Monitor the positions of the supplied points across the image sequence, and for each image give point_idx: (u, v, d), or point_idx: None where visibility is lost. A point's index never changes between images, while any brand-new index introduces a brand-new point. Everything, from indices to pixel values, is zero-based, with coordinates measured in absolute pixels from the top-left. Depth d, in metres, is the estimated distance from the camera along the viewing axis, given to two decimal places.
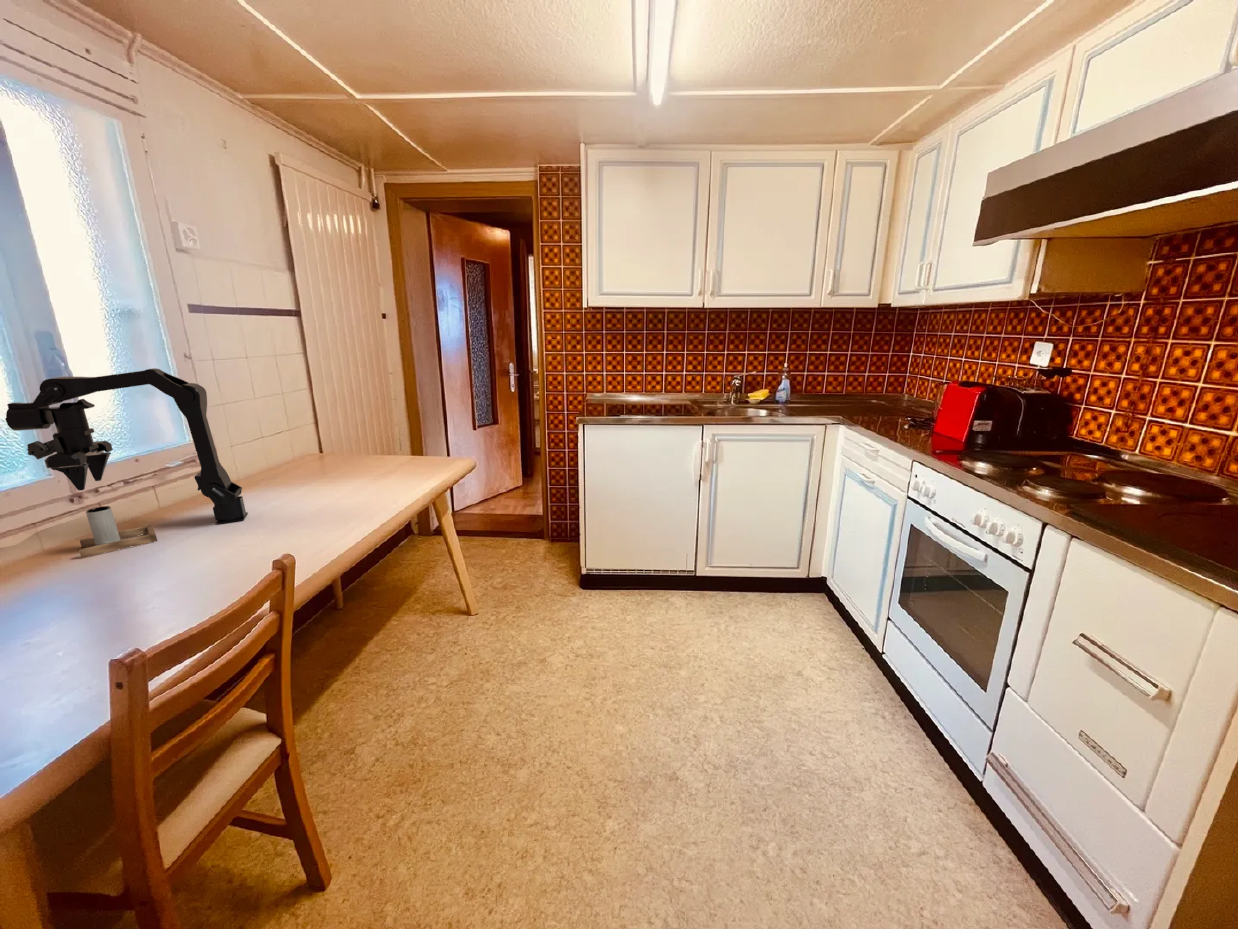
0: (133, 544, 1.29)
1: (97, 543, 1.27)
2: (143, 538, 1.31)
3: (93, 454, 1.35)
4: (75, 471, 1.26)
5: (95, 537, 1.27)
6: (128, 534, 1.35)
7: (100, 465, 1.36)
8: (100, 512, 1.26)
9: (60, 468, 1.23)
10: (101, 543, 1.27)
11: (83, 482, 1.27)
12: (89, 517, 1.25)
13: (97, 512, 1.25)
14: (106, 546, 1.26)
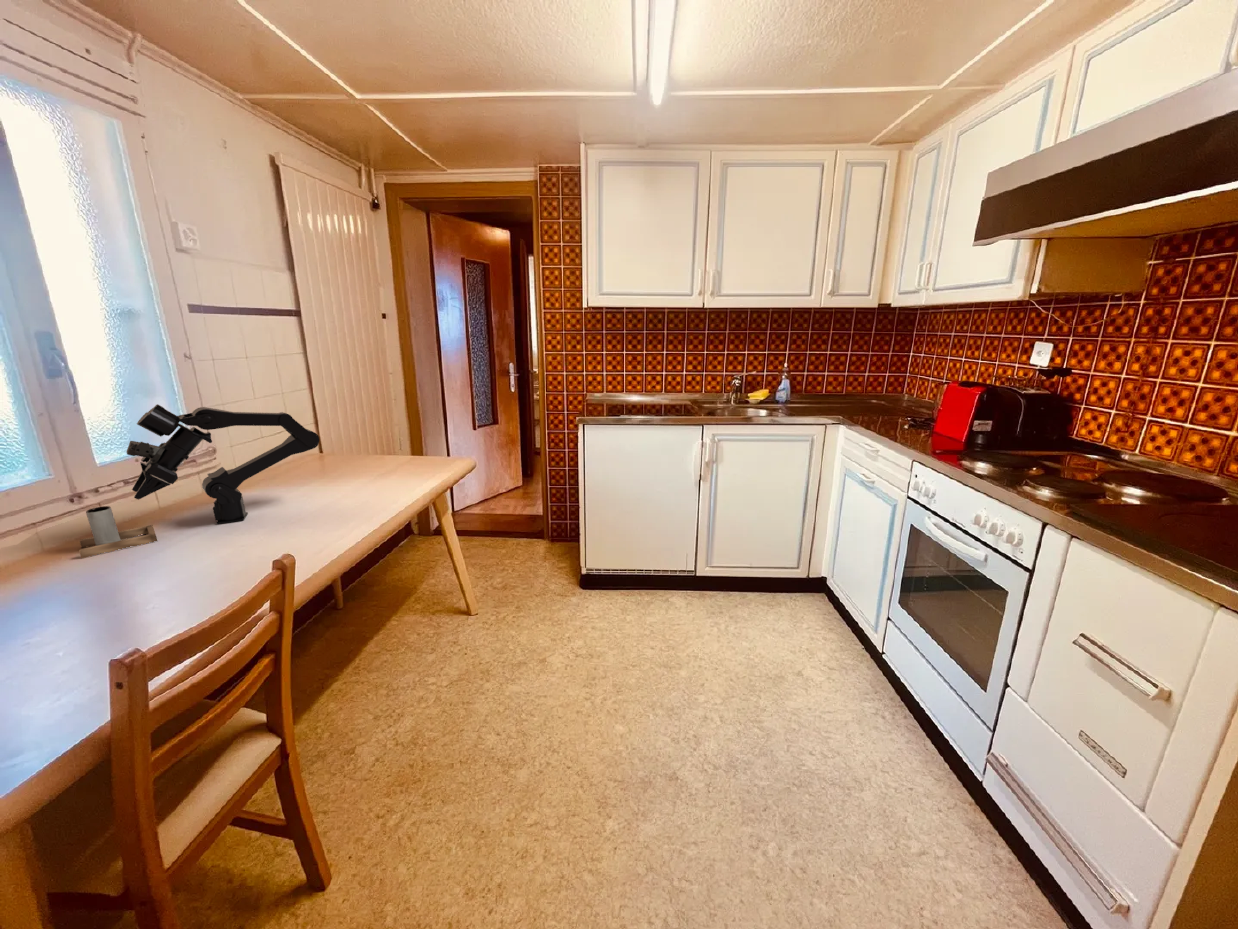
0: (133, 544, 1.29)
1: (97, 543, 1.27)
2: (143, 538, 1.31)
3: None
4: (154, 483, 1.29)
5: (95, 537, 1.27)
6: (128, 534, 1.35)
7: None
8: (100, 512, 1.26)
9: (152, 477, 1.27)
10: (101, 543, 1.27)
11: (147, 494, 1.29)
12: (89, 517, 1.25)
13: (97, 512, 1.25)
14: (106, 546, 1.26)
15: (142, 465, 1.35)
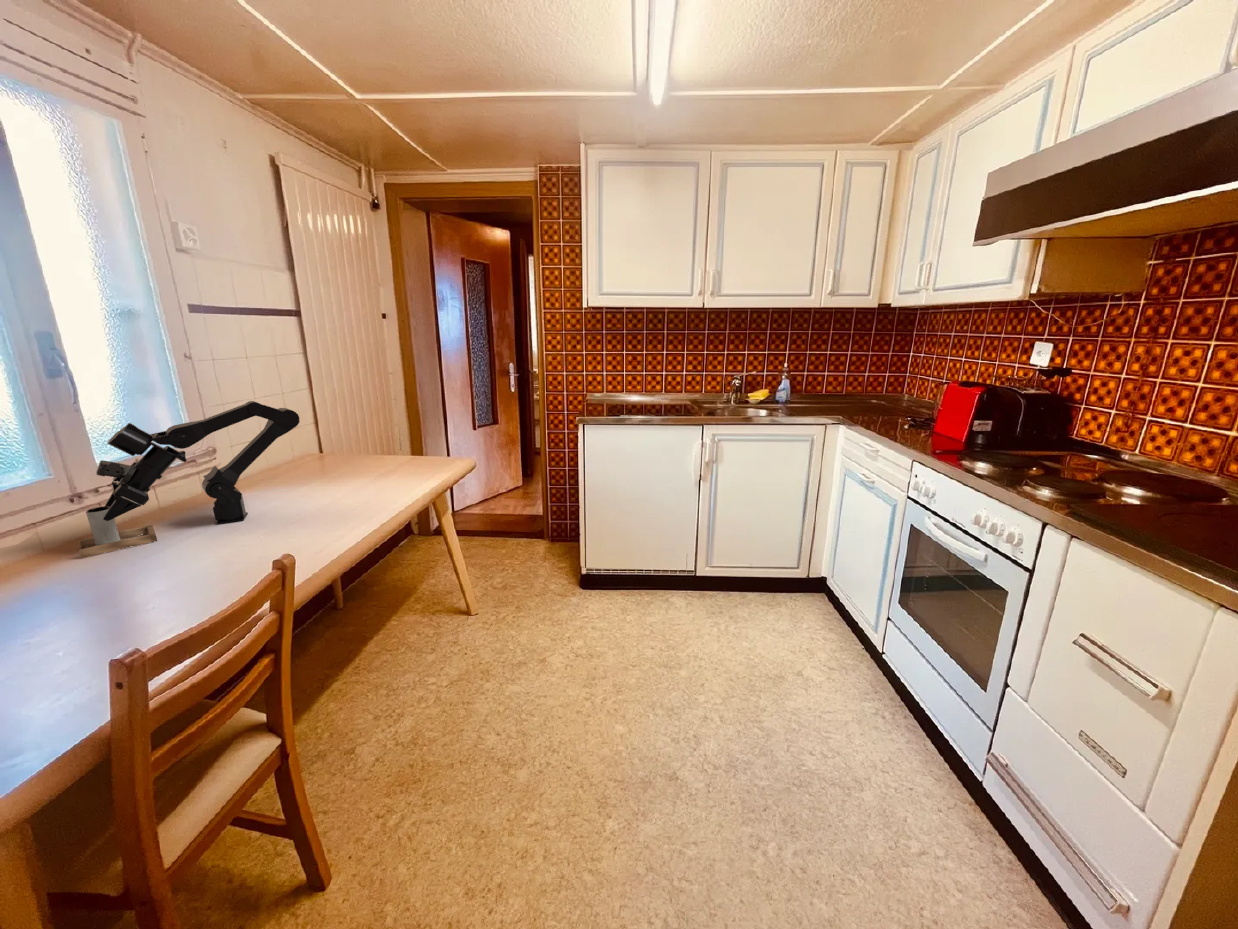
0: (133, 544, 1.29)
1: (97, 543, 1.27)
2: (143, 538, 1.31)
3: None
4: (124, 504, 1.26)
5: (95, 537, 1.27)
6: (128, 534, 1.35)
7: None
8: (100, 512, 1.26)
9: (122, 498, 1.24)
10: (101, 543, 1.27)
11: (117, 515, 1.26)
12: (89, 517, 1.25)
13: (97, 512, 1.25)
14: (106, 546, 1.26)
15: (113, 485, 1.32)
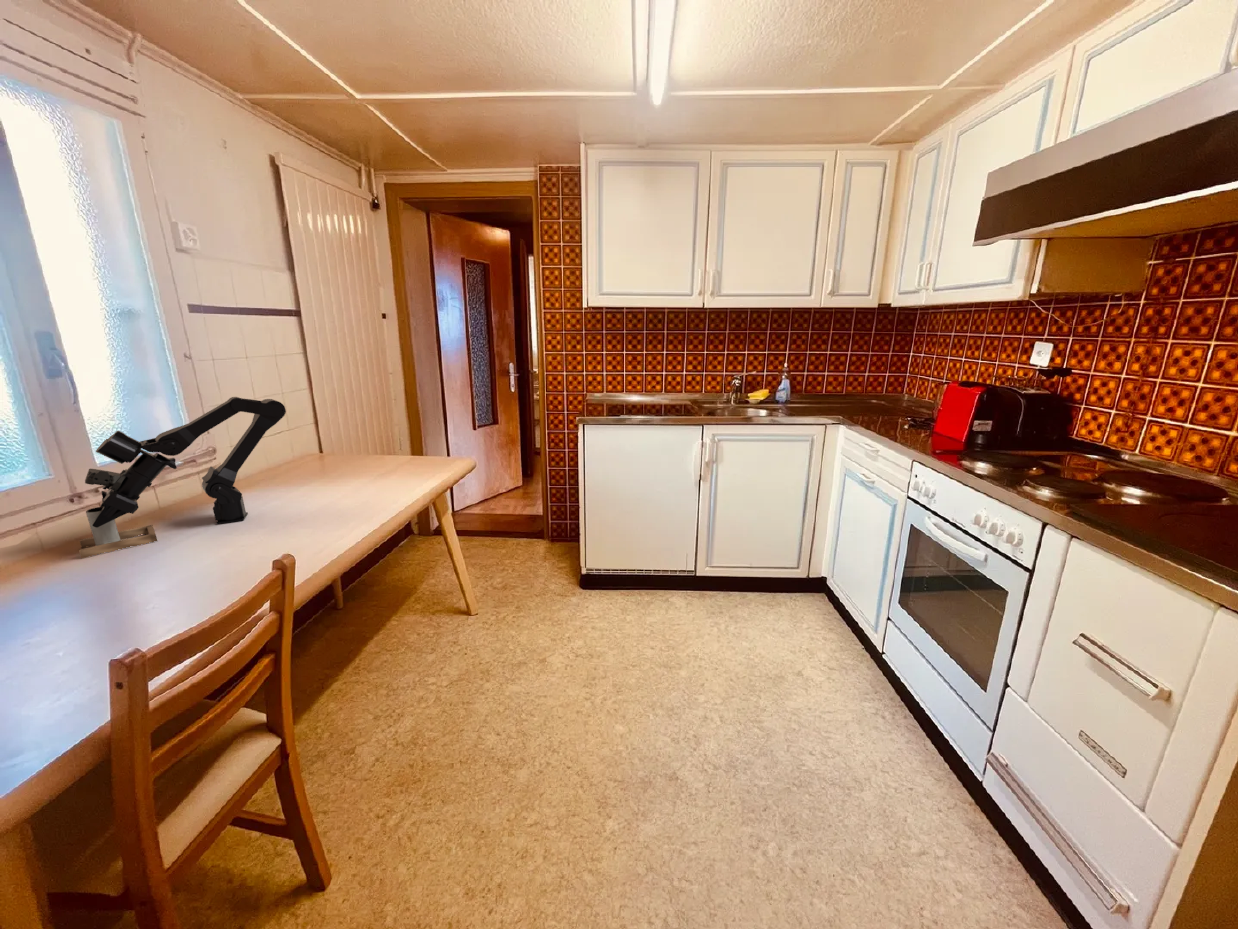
0: (133, 544, 1.29)
1: (97, 543, 1.27)
2: (143, 538, 1.31)
3: None
4: (113, 511, 1.26)
5: (95, 537, 1.27)
6: (128, 534, 1.35)
7: None
8: None
9: (111, 504, 1.24)
10: (101, 543, 1.27)
11: (106, 522, 1.26)
12: (89, 517, 1.25)
13: (97, 512, 1.25)
14: (106, 546, 1.26)
15: (103, 494, 1.29)
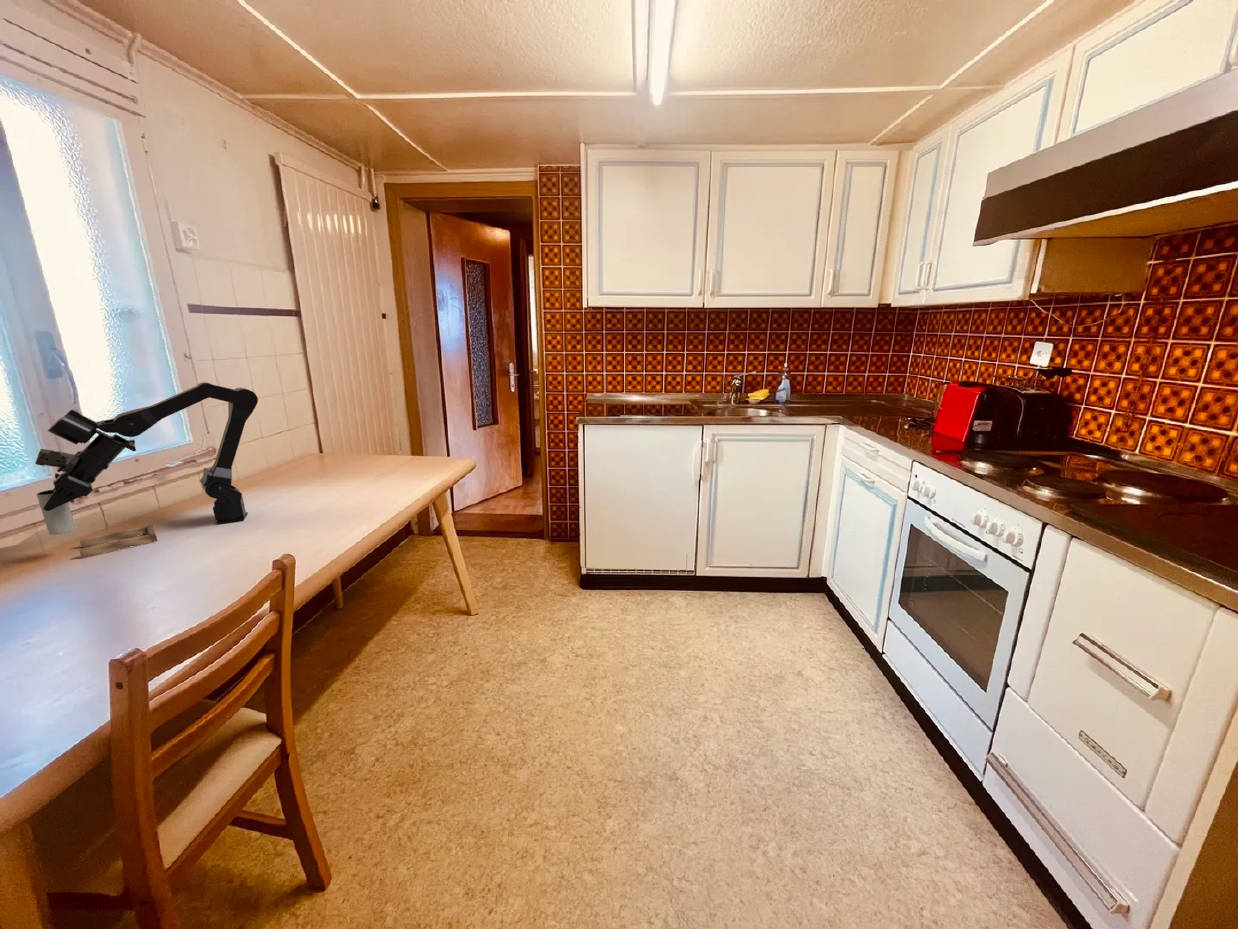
0: (133, 544, 1.29)
1: (49, 527, 1.21)
2: (143, 538, 1.31)
3: None
4: (65, 493, 1.20)
5: (46, 521, 1.20)
6: (128, 534, 1.35)
7: None
8: None
9: (62, 487, 1.18)
10: (53, 528, 1.21)
11: (58, 505, 1.20)
12: (40, 500, 1.19)
13: (48, 495, 1.19)
14: (106, 546, 1.26)
15: (56, 477, 1.23)
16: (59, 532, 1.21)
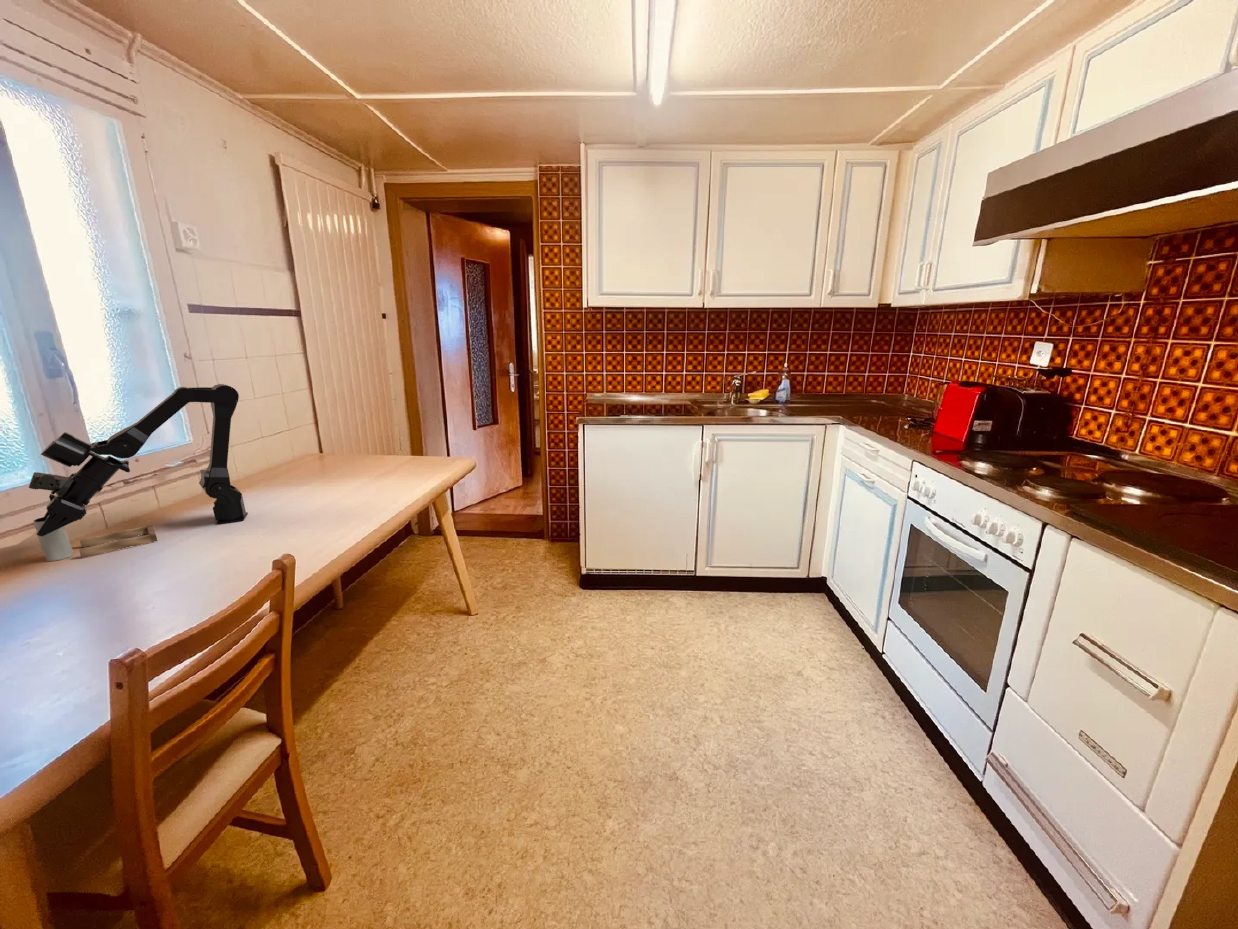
0: (133, 544, 1.29)
1: (46, 554, 1.21)
2: (143, 538, 1.31)
3: None
4: (59, 518, 1.19)
5: (44, 548, 1.21)
6: (128, 534, 1.35)
7: None
8: None
9: (56, 512, 1.17)
10: (50, 554, 1.21)
11: (52, 531, 1.19)
12: (37, 527, 1.19)
13: None
14: (106, 546, 1.26)
15: (51, 498, 1.24)
16: (56, 558, 1.22)
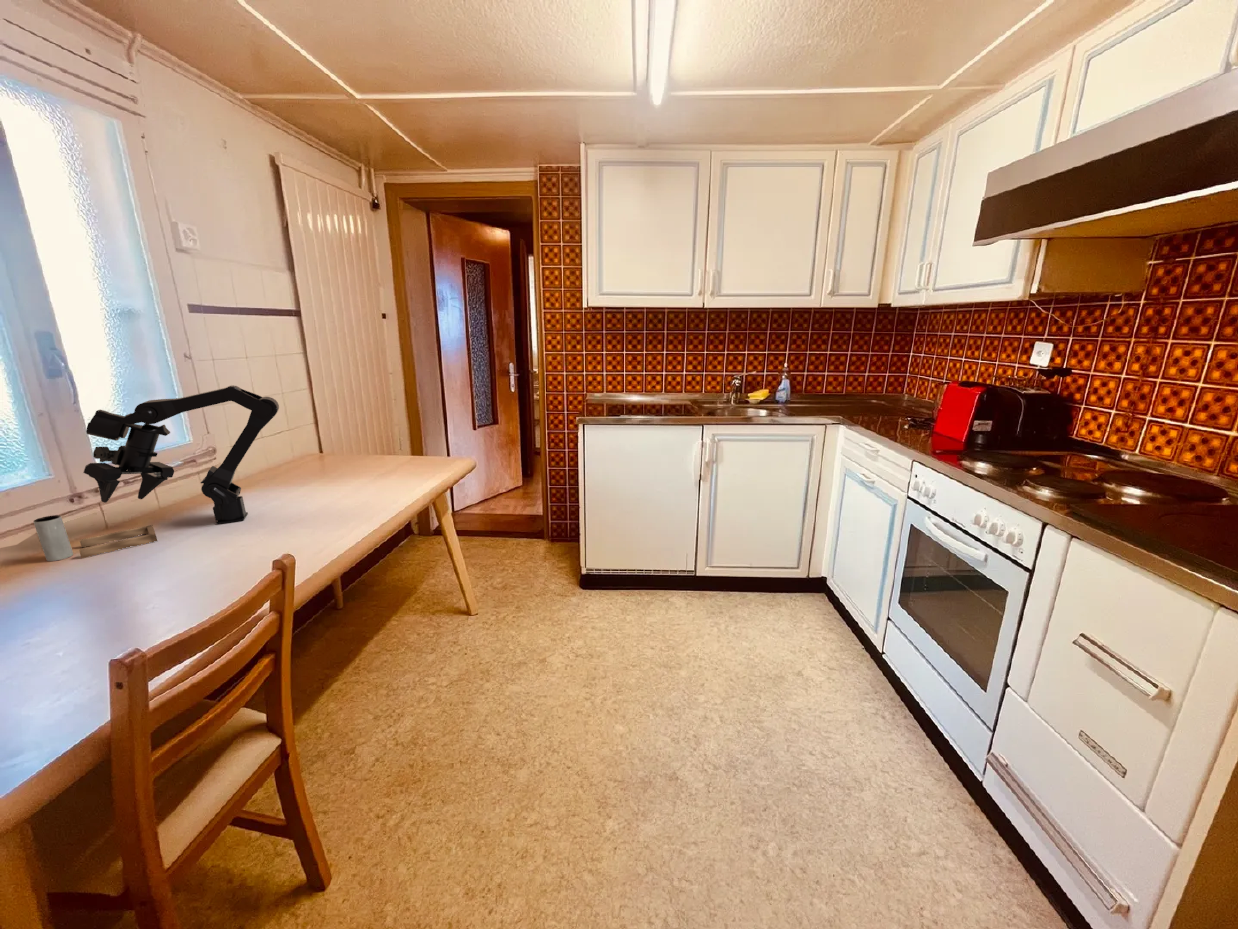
0: (133, 544, 1.29)
1: (46, 554, 1.21)
2: (143, 538, 1.31)
3: (151, 475, 1.39)
4: (106, 484, 1.28)
5: (44, 548, 1.21)
6: (128, 534, 1.35)
7: (149, 486, 1.39)
8: (48, 522, 1.20)
9: (93, 476, 1.26)
10: (50, 554, 1.21)
11: (106, 496, 1.29)
12: (37, 527, 1.19)
13: (45, 522, 1.19)
14: (106, 546, 1.26)
15: (141, 473, 1.39)
16: (56, 558, 1.22)
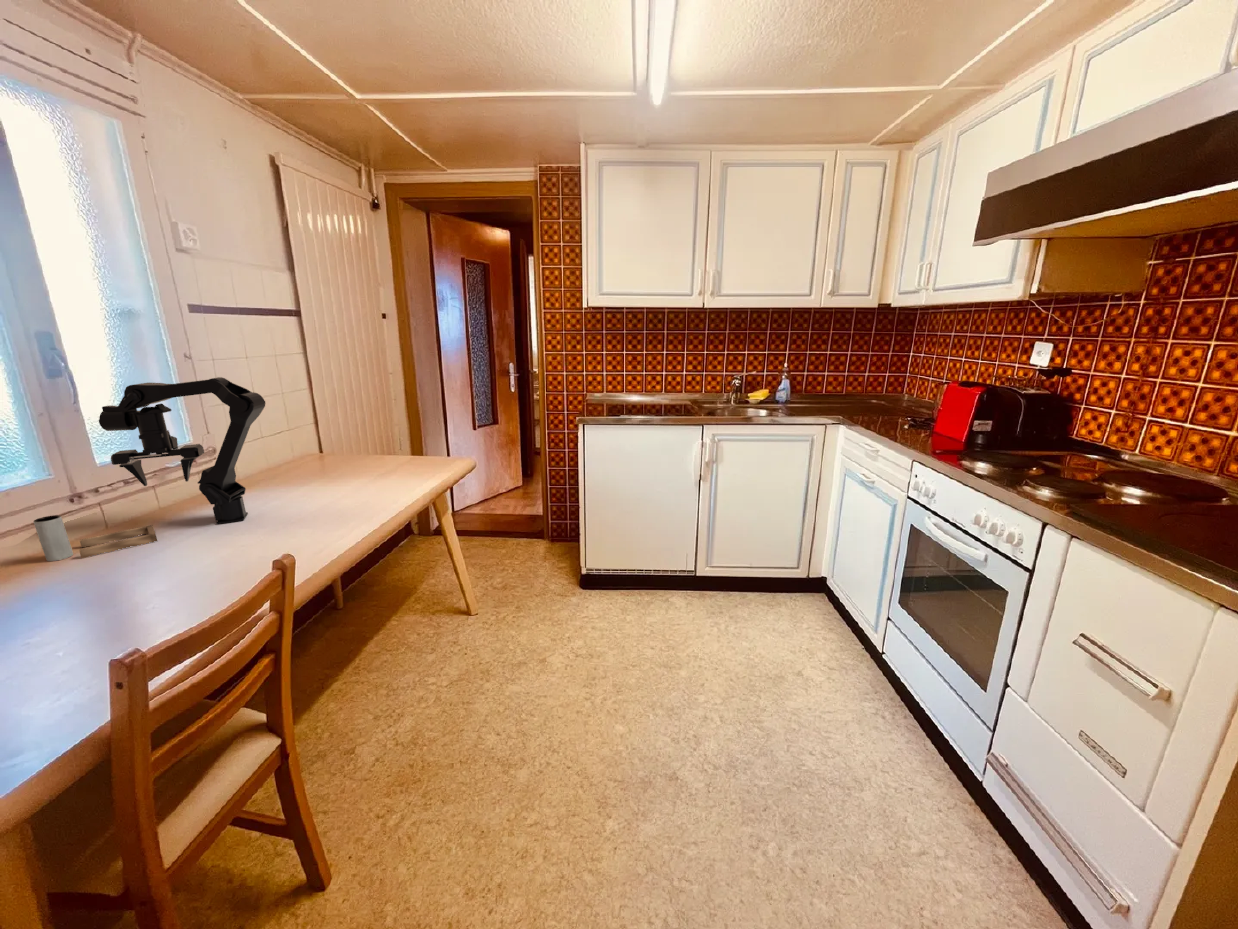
0: (133, 544, 1.29)
1: (46, 554, 1.21)
2: (143, 538, 1.31)
3: None
4: None
5: (44, 548, 1.21)
6: (128, 534, 1.35)
7: None
8: (48, 522, 1.20)
9: None
10: (50, 554, 1.21)
11: (138, 479, 1.38)
12: (37, 527, 1.19)
13: (45, 522, 1.19)
14: (106, 546, 1.26)
15: None
16: (56, 558, 1.22)
